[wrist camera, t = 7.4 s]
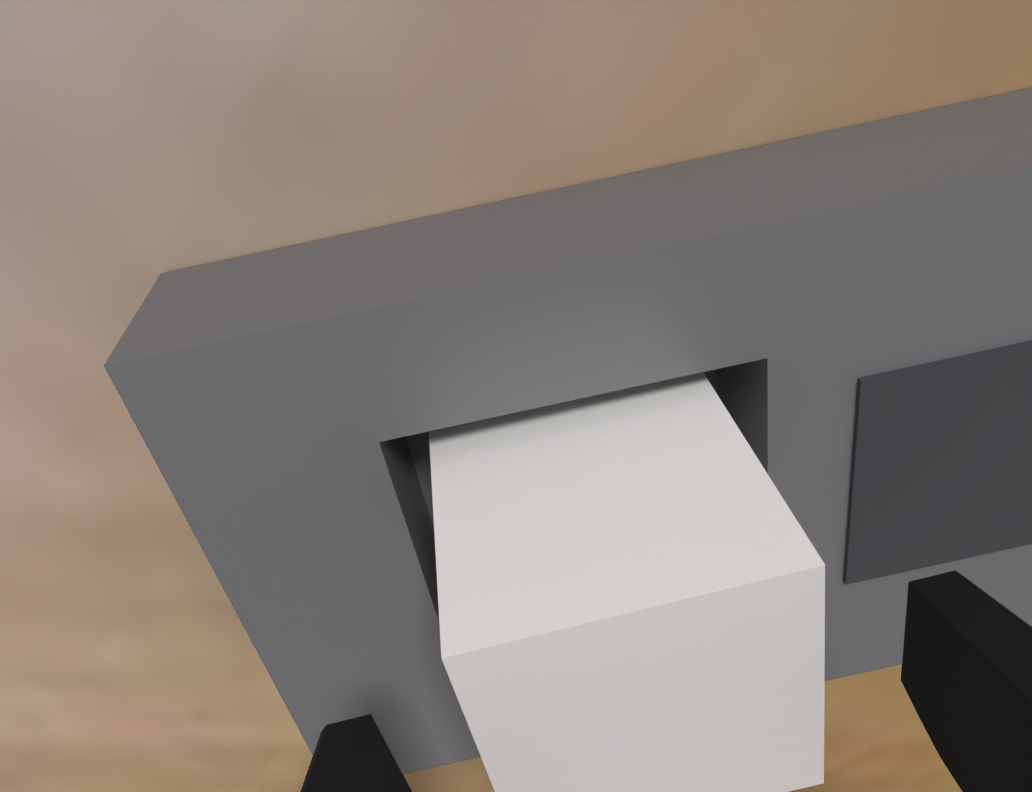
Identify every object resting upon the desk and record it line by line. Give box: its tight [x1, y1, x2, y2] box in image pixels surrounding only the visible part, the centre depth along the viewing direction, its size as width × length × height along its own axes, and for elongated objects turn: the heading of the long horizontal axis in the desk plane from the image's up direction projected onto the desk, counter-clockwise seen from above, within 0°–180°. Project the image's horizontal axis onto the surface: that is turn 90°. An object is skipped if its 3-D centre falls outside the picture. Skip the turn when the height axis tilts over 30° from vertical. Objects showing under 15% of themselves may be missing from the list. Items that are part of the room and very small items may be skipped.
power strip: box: [104, 88, 1032, 774], centre depth 15 cm, size 22×10×3 cm, turn 100°
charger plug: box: [429, 372, 825, 792], centre depth 13 cm, size 4×4×6 cm
